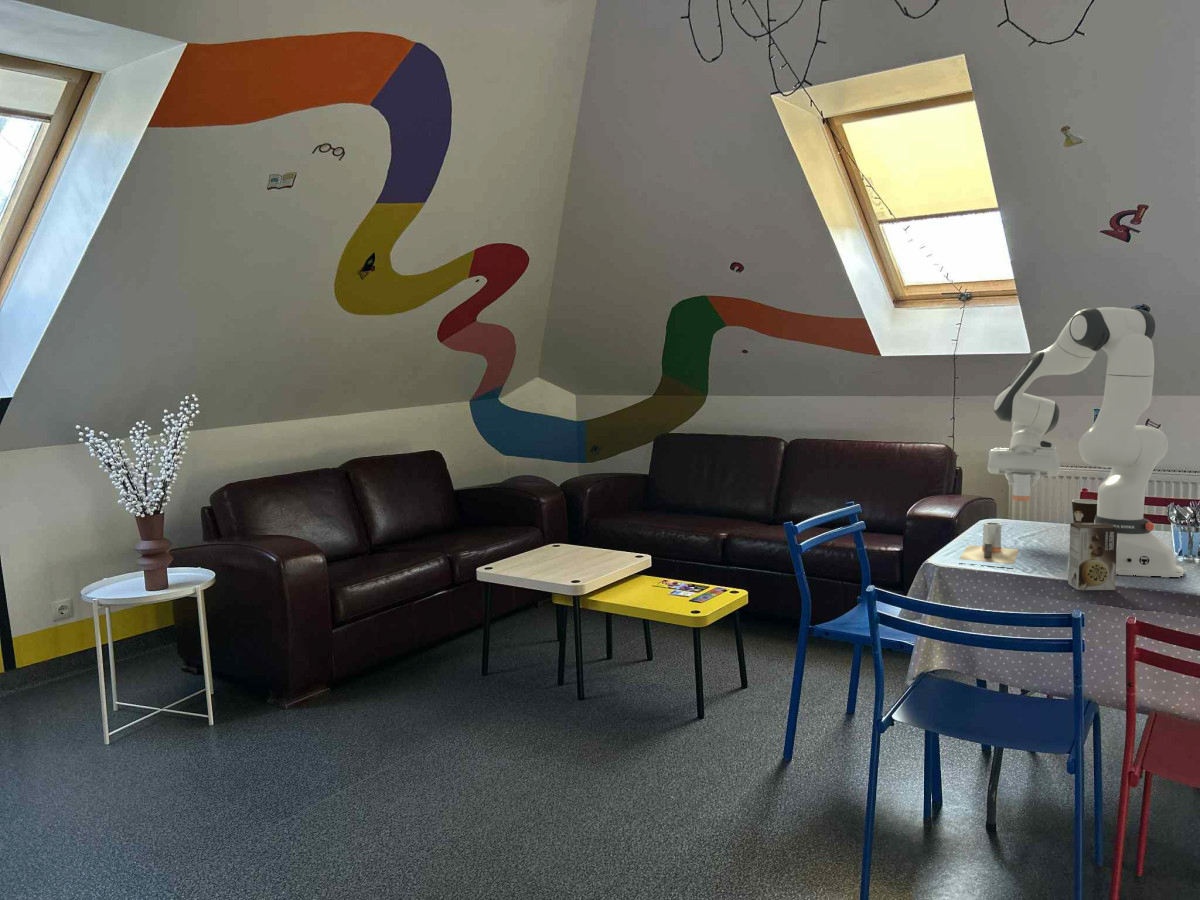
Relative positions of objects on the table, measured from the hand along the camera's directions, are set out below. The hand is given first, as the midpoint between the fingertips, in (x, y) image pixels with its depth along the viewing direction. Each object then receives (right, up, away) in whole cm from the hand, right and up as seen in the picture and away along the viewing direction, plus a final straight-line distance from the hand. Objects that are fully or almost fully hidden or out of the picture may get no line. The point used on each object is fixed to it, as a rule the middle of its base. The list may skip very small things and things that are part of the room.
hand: (1021, 484), depth 277 cm
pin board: (-16, -21, -15) cm, 31 cm away
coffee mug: (+31, -17, +20) cm, 40 cm away
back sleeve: (-14, -19, -11) cm, 26 cm away
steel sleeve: (0, -5, +1) cm, 5 cm away
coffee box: (-4, -25, -47) cm, 53 cm away
